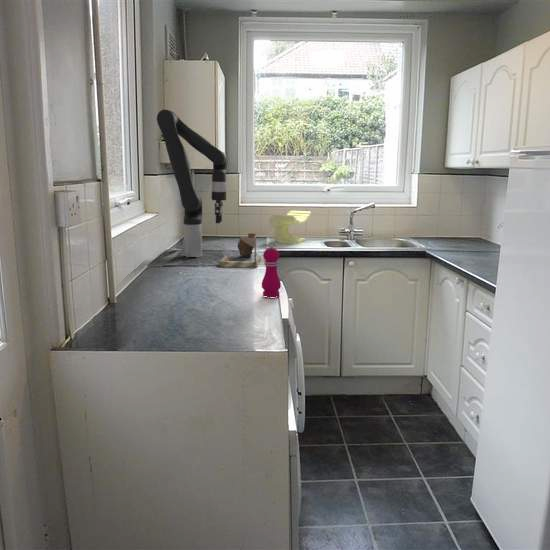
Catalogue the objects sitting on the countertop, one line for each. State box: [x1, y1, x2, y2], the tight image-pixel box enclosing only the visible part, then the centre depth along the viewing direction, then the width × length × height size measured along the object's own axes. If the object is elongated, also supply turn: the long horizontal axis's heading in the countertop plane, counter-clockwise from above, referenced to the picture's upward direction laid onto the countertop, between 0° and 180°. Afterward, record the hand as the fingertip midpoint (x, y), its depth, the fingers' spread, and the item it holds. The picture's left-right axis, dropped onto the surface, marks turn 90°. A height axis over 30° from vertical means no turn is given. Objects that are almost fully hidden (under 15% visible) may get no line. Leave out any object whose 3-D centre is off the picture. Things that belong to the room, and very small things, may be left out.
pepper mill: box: [261, 243, 282, 297], centre depth 193 cm, size 7×7×20 cm
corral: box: [219, 232, 262, 269], centre depth 252 cm, size 18×16×16 cm
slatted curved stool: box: [268, 210, 312, 245], centre depth 320 cm, size 30×16×18 cm, turn 157°
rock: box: [237, 236, 254, 258], centre depth 271 cm, size 12×10×10 cm
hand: (218, 222), depth 267 cm, fingers open, 8 cm apart
